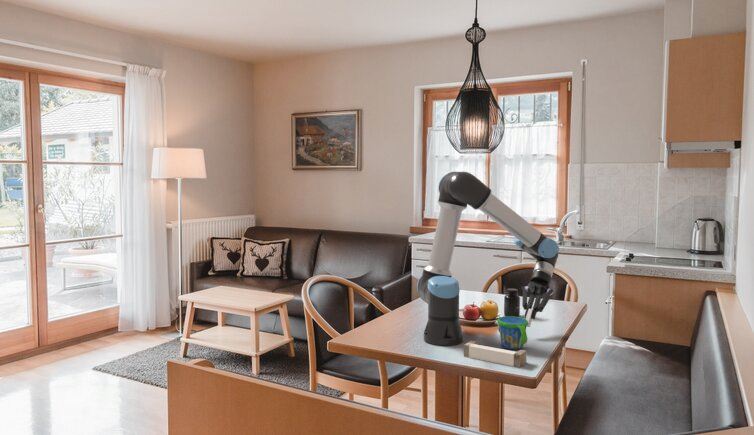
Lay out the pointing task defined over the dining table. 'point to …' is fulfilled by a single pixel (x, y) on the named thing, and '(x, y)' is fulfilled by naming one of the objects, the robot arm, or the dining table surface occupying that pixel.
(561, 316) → the dining table surface
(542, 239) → the robot arm
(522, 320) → the snack cup
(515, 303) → the supplement bottle
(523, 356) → the rail
